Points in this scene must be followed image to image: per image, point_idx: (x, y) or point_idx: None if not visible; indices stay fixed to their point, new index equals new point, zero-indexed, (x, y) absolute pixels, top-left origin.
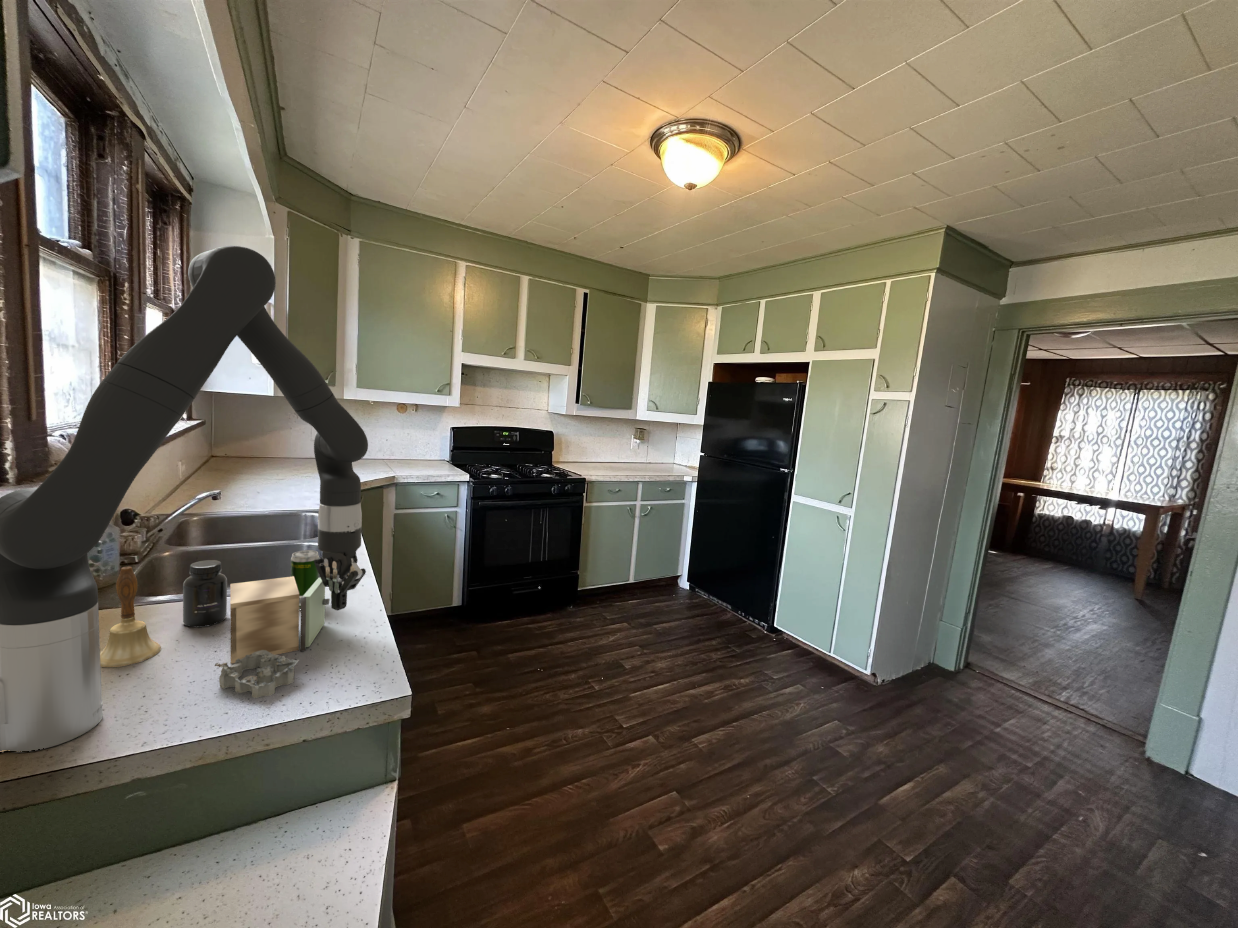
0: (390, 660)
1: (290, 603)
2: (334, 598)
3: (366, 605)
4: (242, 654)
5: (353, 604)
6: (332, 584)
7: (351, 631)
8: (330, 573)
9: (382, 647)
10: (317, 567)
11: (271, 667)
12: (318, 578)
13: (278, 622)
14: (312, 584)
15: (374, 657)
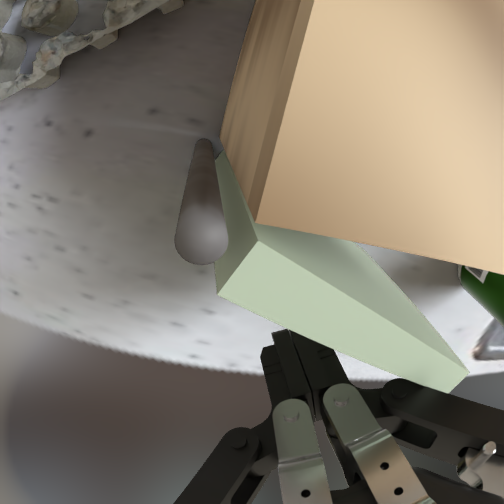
0: (24, 320)
1: (259, 116)
2: (297, 368)
3: (369, 368)
4: None
5: None
6: (336, 425)
7: (246, 310)
8: (365, 485)
9: (94, 335)
10: (497, 418)
11: (34, 20)
12: (463, 372)
13: (255, 52)
14: (500, 307)
15: (48, 301)
